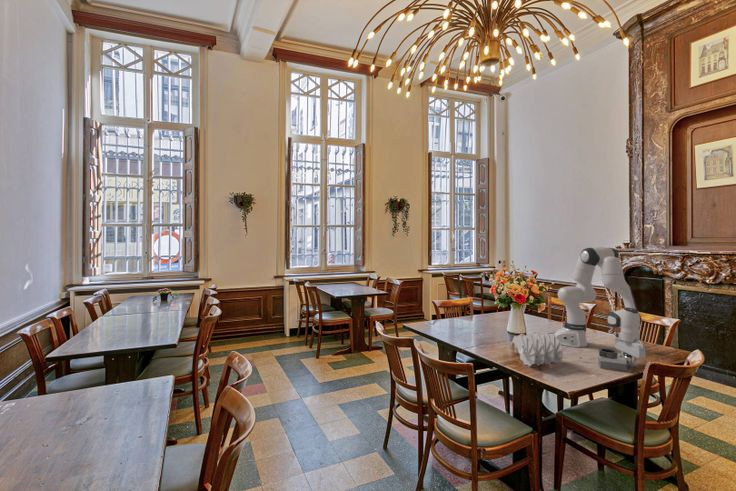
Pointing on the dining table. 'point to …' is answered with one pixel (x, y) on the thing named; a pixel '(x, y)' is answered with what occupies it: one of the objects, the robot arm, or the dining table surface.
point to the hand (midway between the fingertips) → (629, 361)
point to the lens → (628, 360)
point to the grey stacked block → (611, 360)
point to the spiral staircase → (539, 348)
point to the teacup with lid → (516, 346)
